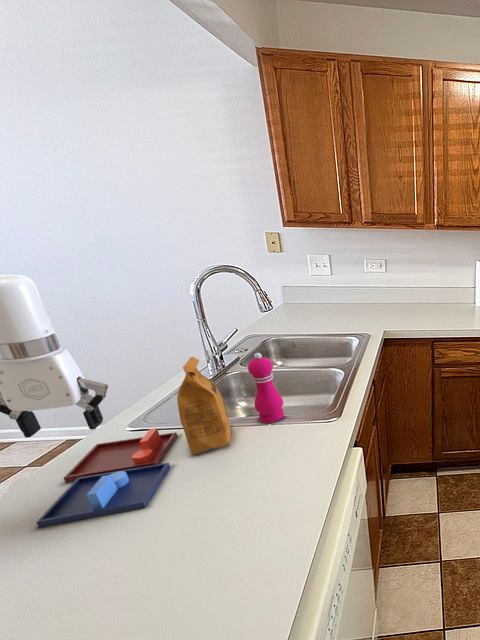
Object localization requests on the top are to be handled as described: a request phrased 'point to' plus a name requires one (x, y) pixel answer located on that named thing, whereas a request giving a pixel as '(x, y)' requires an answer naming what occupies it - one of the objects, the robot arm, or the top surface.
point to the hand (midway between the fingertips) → (65, 429)
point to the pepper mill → (265, 390)
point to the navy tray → (125, 499)
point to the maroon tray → (117, 457)
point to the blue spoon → (106, 489)
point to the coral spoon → (147, 447)
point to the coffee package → (202, 411)
